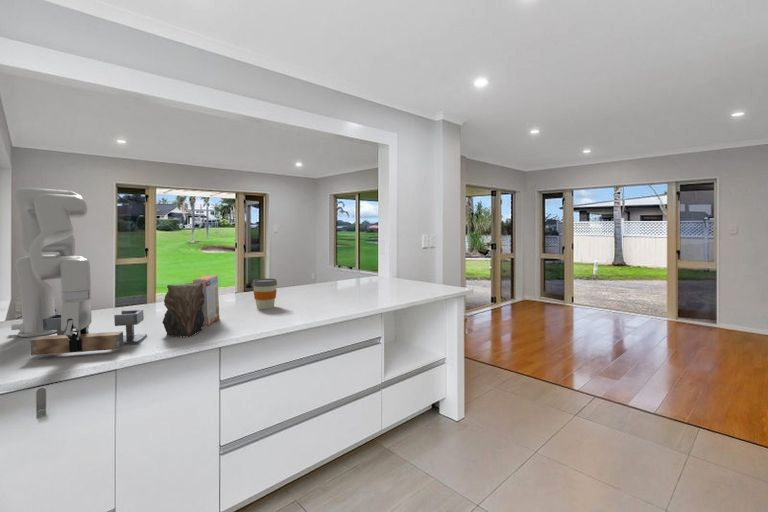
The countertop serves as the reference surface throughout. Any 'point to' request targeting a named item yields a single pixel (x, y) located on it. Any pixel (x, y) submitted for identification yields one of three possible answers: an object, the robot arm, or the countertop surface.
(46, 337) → the rail
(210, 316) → the cracker box
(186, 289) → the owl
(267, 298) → the reusable coffee cup
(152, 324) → the countertop surface
